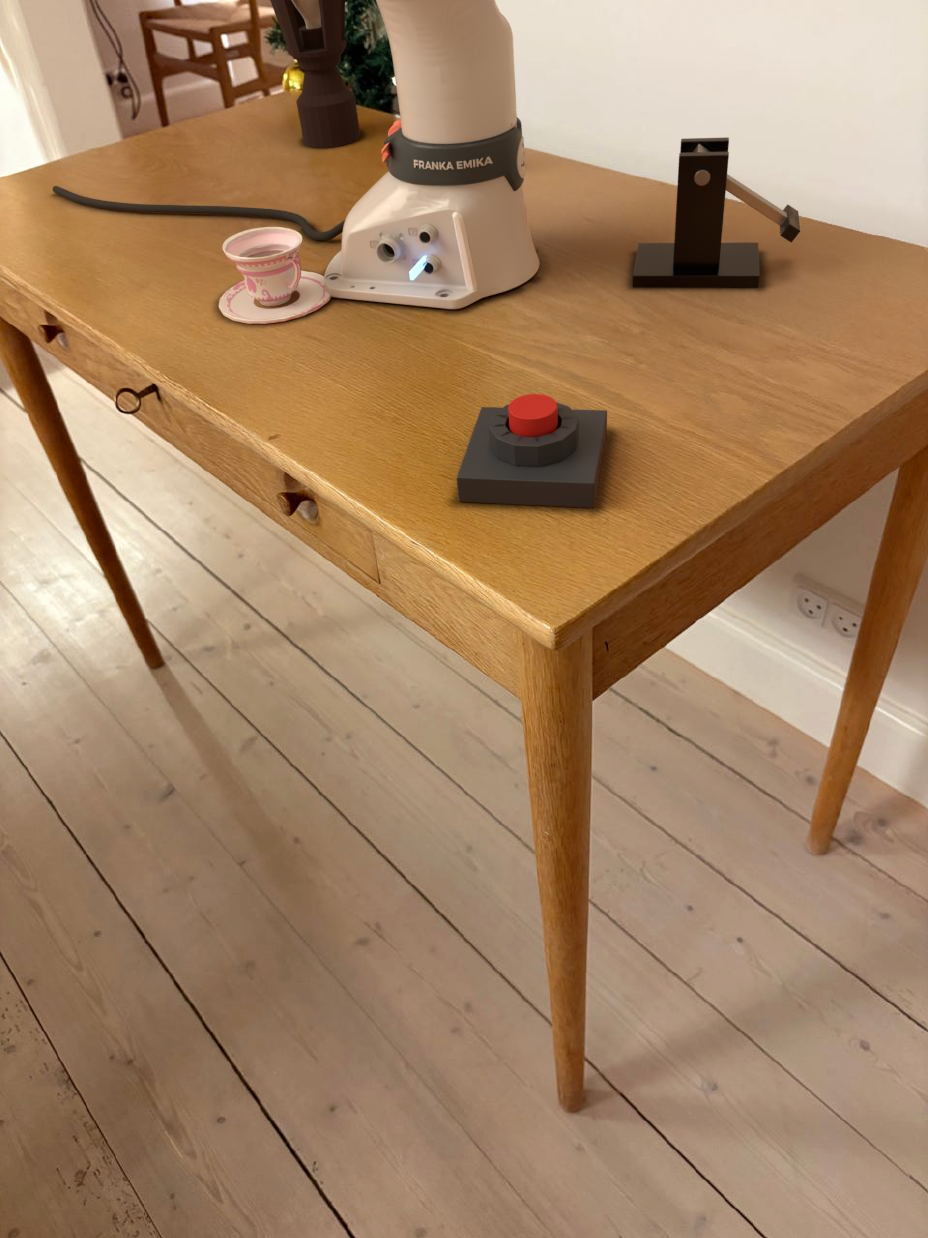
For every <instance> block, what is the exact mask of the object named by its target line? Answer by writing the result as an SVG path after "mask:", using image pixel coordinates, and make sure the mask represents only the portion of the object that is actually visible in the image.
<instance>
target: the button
mask: <svg viewBox="0 0 928 1238" xmlns="http://www.w3.org/2000/svg"><path fill="white" fill-rule="evenodd" d="M556 402H557V401H556V400H555V399H554V398H552V397H551V396H549V395H546V394H541V393H529V394H522V395H520V396H518V397H516V398H514V399H513V400H511V401H510V402H509V404H508V405H509V407H508V412H509V428H510V431H511V432H512V433H513V434H516V435H519V436H521V437H540V436H544V435H547V434H551V433H553V432H554V431H555V430H556V429H557V427H558V410H557V403H558V402H557V403H556Z"/></svg>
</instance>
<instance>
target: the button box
mask: <svg viewBox="0 0 928 1238" xmlns="http://www.w3.org/2000/svg"><path fill="white" fill-rule="evenodd" d="M556 403H557V410H558V427H557V429H556V430H555V431H554V432H553V433H551V434H547V435H544V436H540V437H521V436H519V435H516V434H513V433H512V432H511V431H510V428H509V412H508V407H509V404H506V405H504V406H503V407H499V406H498V407H497V406H496V407H494V406H493V407H492V406H487V407H486V406H482V407H481V408H480V410H479V414H478V416H477V419H476V422H475V424H474V427H473V431H472V433H471V436H470V438H469V443H468V445H467V448H466V450H465V452H464V455H463V459H462V462H461V465H460V467H459V470H458V473H457V476H456V485H457V493H458V501H459V503H479V504H496V505H497V504H501V505H522V506H539V507H541V506H543V507H563V508H564V507H565V508H583V509H584V508H585V509H587V508H588V509H594V508H595V505H596V499H597V494H598V488H599V482H600V476H601V471H602V465H603V458H604V452H605V447H606V441H607V436H608V410H606V409H605V410H602V409H600V410H599V409H574V408H573V409H572V408H571V407H570V406H569V405H566V404H563V403H560V402H558V401H556Z"/></svg>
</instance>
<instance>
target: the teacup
mask: <svg viewBox="0 0 928 1238" xmlns="http://www.w3.org/2000/svg"><path fill="white" fill-rule="evenodd" d="M303 239H304V238H303V236H302V234H301V233H300V232H299V231H298V230H297V231H296V230H295V229H292V228H288V227H282V226H281V227H280V226H263V227H262V226H261V227H256V228H250V229H246V230H242V231H240V232H237V233H235V234H233V235H231V236H229V237H227V238H226V240H224V242H223V243H222V251H223V252H224V255H225V257H226V258H227V259H228V260H229V262H232V264H235V267H236V270H238V271H239V273H240V274H241V275H242V277H243V280H242V281H239V282H237V283H236V284H235V285H233V286H231V287H230V288H228V289H227V290H225V292H224V293H223V294H222V295H221V296H220V298H219V300H218V309H219V311H220V312H221V314H222V315H223V316H224V317H225V318H227V319H229V320H231V321H233V322H237V323H243V324H248V325H249V324H250V325H251V324H254V325H263V324H264V325H267V324H274V323H275V324H276V323H282V322H283V323H284V322H287V321H290V320H295V319H299V318H302V317H305V316H307V315H308V314H311V313H313V312H316V311H317V310H319V309H320V308H322V307H323V306H325V305H326V304H328V302H330V300H331V298H332V297H331V295H330V294H328V293H327V292H326V290H325V285H324V275H322V274H319V273H317V272H312V271H307V270H302V265H301V259H300V258H299V256H298V254H297V253H298V252H299V250H300V249H301V246H302V244H303V243H302V242H303ZM295 291H296V292H298V294H299V297H298V299H297V300H296V301H294V302H292V303H291V304H288V305H285V306H281V307H276V306H280V305H283V304H286V303H288V302H289V301H290V300H291V299H292V294H293V293H294V292H295ZM255 300H257V302H259V304H260V305H262V306H265V307H273V308H263V307H259V306H257V305H256V304H255ZM274 307H275V308H274Z"/></svg>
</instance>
